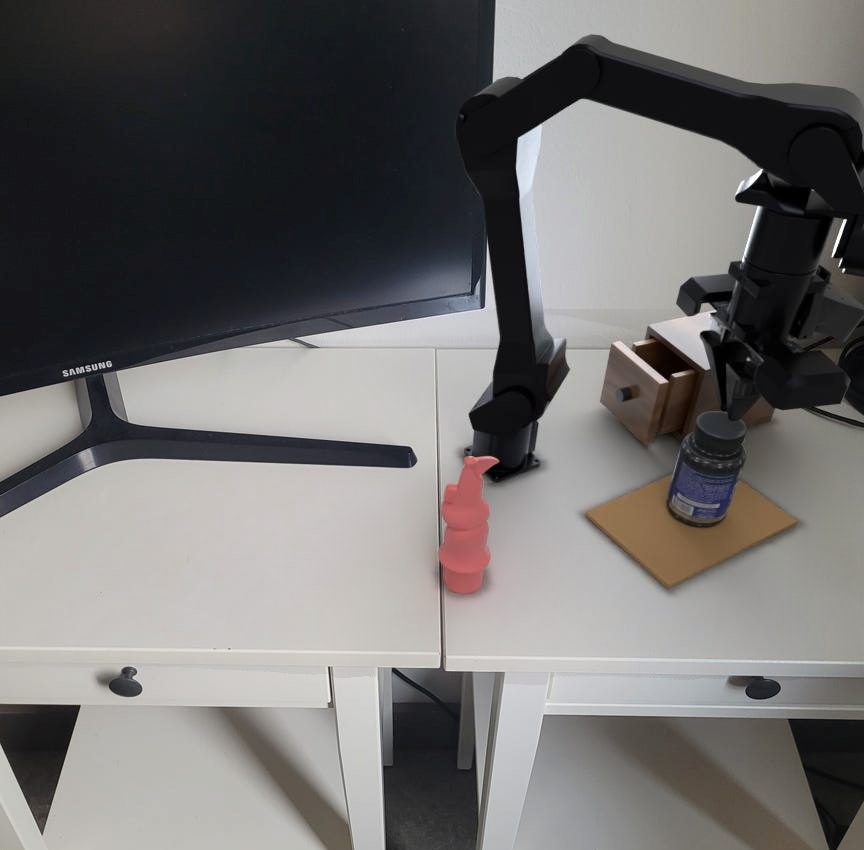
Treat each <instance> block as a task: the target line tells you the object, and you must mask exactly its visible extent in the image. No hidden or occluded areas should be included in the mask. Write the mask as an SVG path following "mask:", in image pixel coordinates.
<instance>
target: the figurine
mask: <svg viewBox="0 0 864 850" xmlns="http://www.w3.org/2000/svg"><path fill="white" fill-rule="evenodd" d="M462 462H463V467H462V470H461V473H460V475H459V479H458V482H457V483H453V482H451V483H448V484H447V485H446V486H445V489H444V493H443V500H442V502H441V503H440V504H441V505H440V515H441V518H442V520H443V521H444V523H445V524H446V525H445V528H444V534H443V541H442V543H441V544H440V546H439V548H438V550H437V556H438V560H439V562H440V564H441V565H442V582H443V584H444V586H445V587H446V588H447V589H448V590H449V591H451V592H453V593H456V594H459V595H460V594H461V595H468V594H472V593H475V592H476V591H478V590H479V589H481V587H482V585H483V582H484V574H485V569H486V568H487V567H488V565H490V562H491V551H490V548H489V547H488V545H487V542H488V537H489V533H490V526H489V522H488V521H489V518H490V515H491V508H490V505H489V503H488V501H487V500H486V498H485V497H484V496H483V490H484V485H485V483H484V477H483V476H482V475H483V474H485V473H484V472H485V471H486V470H488V469H489V468H490V467H492V466H493V465H495V464H497V463H499V460H498V459H496V458H494V457H491V456H482V457H477V458H475V457H473V456H465V457H464V458H463V461H462Z"/></svg>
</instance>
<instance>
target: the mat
mask: <svg viewBox="0 0 864 850" xmlns="http://www.w3.org/2000/svg"><path fill="white" fill-rule="evenodd" d="M672 476H673V473H672V474H670V475H668V476H665V477H662V478H661V479H658V480H656V481H653V482H651V483H649V484H647V485H644V486H642V487H640V488H637V489H635V490H633V491H631V492H628V493H626V494H624V495H622V496H621V495H620V496H619V497H616V498H614V499H612V500H610V501H607V502H605V503H603V504H601V505H599V506H596V507H594V508H592V509H589V510H587V511H585V513H584V516H585V517H586V518H587V519H589V520H590V522H591V523H592V524H594V525H595V526H596V527H597V528H599V529H600V530H601V531H602V532H603V533H604V534H605V535H606V536H608V538H610V540H612V541H613V542H614V543H616V544H617V545H618V546H619V547H620V548H621V549H622V550H623V551H624V552H626V553H627V554H628V555H629V556H630V557H631V558H632V559H634V561H636V563H638V564H639V565H640V566H641V567H642V568H643V569H644V570H646V571H647V572H648V573H649V574H650V575H651V576H652V577H654V579H656V580H657V581H658V582H659V583H660V584H662V586H664V587H665V588H666V589H668V590H669V589H671V588H673V587H675V586H677V585H679V584H681V583H683V582H685V581H687V580H689V579H691V578H693V577H695V576H697V575H699V574H701V573H702V572H704V571H706V570H708V569H710V568H713V567H714V566H717V565H718V564H720V563H723V562H724V561H726V560H729V559H730V558H733V557H734V556H737V555H738V554H740V553H742V552H744V551H747V550H748V549H751V548H753V547H754V546H756V545H758V544H760V543H762V542H764V541H766V540H768V539H770V538H772V537H774V536H775V535H778V534H780V533H782V532H784V531H785V530H788V529H789V528H792V527H793V526H795V525H797V523H798V520H797V518H794V517H793V516H792V515H791V514H789V513H787V512H786V511H785V510H783V509H782V508H781V507H779V506H777V505H776V504H775V503H774V502H772V501H770V500H769V499H767V498H766V497H765V496H763V495H762V494H761V493H759V492H757V491H756V490H755V489H753V488H752V487H751V486H750V485H748V484H746V483H745V482H744V481H743V480H740V479H739V480H738V483H737V486H736V489H735V492H734V495H733V497H732V500H731V503H730V506H729V509H728V512H727V516H726V517H725V519H724V520H723V521H722V522H721V523H719V524H717V525H715V526H712V527H695V526H691V525H688V524H685V523H683V522H681V521H679V520H678V519H677V518H675V517H674V516H673V515H672V514H671V513H670V511H669V509H668V507H667V504H666V498H667V494H668V491H669V487H670V483H671V480H672Z"/></svg>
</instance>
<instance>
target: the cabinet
mask: <svg viewBox="0 0 864 850" xmlns="http://www.w3.org/2000/svg"><path fill="white" fill-rule="evenodd" d="M712 312H716V310H715V309H714V310H709V311H705V312H699V313H698V314H696V315H695V316H689V317H688V316H687V315H686V316H682V317H678V318H673V319H669V320H663V321H661V322H660V321H659V322H655V323H651V324H647V326H646V331H645V335H644V340H649V339H653V338H656V339H657V340H659V341H660V342H661V343H662V344H664V345H665V346H666V347H667V348H669V349H670V350H671V351H673V352H674V353H675V354H676V355H678V356H679V357H680V358H681V359H683V360H684V361H685V362H686V363H688V364H689V365H690V366H692V367H693V368H694V369H695V370H697V371H698V372H699V376H698V380H697V383H696V387H695V390H694V394H693V397H692V401H691V404H690V408H689V411H688V415H687V418H686V422H685V425H684V428H683V429H679V430H676V431H672V432H671V434H672V435H674V436H675V437H676V438H677V439H678V440H679V441H680V442H681V443H682V442H683V440H684V438H685V437H686V436H687V435H688V434H690V433H692V432H694V426H695V422H696V419H697V418H698V416H699V415H701V414H702V413H705V412H708V411H721V410H720V406H719V402H718V398H717V394H716V389H715V385H714V381H713V377H712V373H711V369H710V365H709V362H708V358H707V355H706V351H705V348H704V344H703V341H702V340H701V339H700V332H701V331H704V330H709V327H710V323H711V319H710V318H709V314H710V313H712ZM775 411H776V408H773V407H772V406H771V405H770V404H769V403H768V402H767V401H766V400H765V399H764V398H763V397H762V396H761V397H760V398H759V400H758V401H757V402H756V403H755V404H754V405H753V406H752V407H751V408H750V410H749V411H748V412H747V413H746V414H745V415H744V416H743V417H742V418H741V420H742V421H743V422H744V423H745V424H746V427H747V428H749V427H752V426H755V425H759V424H764V423H767V422H770V421H772V419H773V416H774V413H775ZM721 412H722V411H721ZM726 413H727V412H726Z"/></svg>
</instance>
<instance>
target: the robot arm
mask: <svg viewBox="0 0 864 850" xmlns="http://www.w3.org/2000/svg"><path fill="white" fill-rule="evenodd" d="M580 100H588V101H591V102H595V103H597V104H600V105H604V106H607V107H610V108H613V109H617V110H620V111H623V112H626V113H628V114H632V115H635V116H639V117H642V118H645V119H649V120H651V121H654V122H658V123H661V124H664V125H668V126H671V127H674V128H677V129H681V130H683V131H686V132H689V133H693V134H696V135H698V136H702V137H705V138H709V139H712V140H714V141H715V140H716V141H717V142H720V143H723V144H725V145H727V146H729V147H730V148H732V149H734V150H736V151H737V152H738V153H740V154H741V155H742V156H743V157H745V158H746V159H747V160H748V161H750V162H751V163H752V164H753V165H754V166H756V167H757V168H759V169H760V170H759V171H757V172H756V173H755V174H753V175H751V176H749V177H748V178H746V179H743V180H742V181H741V182H740V184H739V186H738V189H737V191H736V193H735V195H734V201H735V203H738V204H743V205H748V206H749V205H750V206H756V207H757V209H756V212H755V215H754V218H753V222H752V226H751V229H750V232H749V236H748V240H747V243H746V246H745V250H744V253H743V257H742V260H734V261H732V260H731V261H729V266H728V269H727V273H719V274H718V273H717V274H706V275H696V276H690V277H689V278H688V279H687V280H686V281H684V282H683V283H682V284H681V285H680V286H679V290H678V294H677V298H676V301H675V305H676V306H677V307H678V308H679V309H680V310H681V311H682V312H683V313H684V315H686V317H687V316H688V317H689V316H695V315H696V314H700V313H701V308H702V305H703V304H709V305H710V306H711V308H713V309H714V310H716V312H712V313H710V314H709V318H710V319H711V323H710V327H709V330H704V331H701V332H700V339H701V340H702V341H703V344H704V348H705V351H706V355H707V358H708V362H709V365H710V369H711V373H712V377H713V381H714V385H715V389H716V394H717V398H718V402H719V406H720V410H721V411H722V412H727V413H728V419H729V420H730V421H737V420H740V419H741V418H742V417H743V416H744V415H745V414H746V413H747V412H748V411H749V410H750V408H751V407H752V406H753V405H754V404H755V403H756V402H757V401H758V400H759V398H760V397H761V396H762V397H763V398H764V399H765V400H766V401H767V402H768V403H769V404H770V405H771V406H772V407H773V408H775V410H780V411H790V410H799V409H807V408H808V409H809V408H816V407H817V408H818V407H826V406H834V405H841V404H842V402H843V400H844V398H845V395H846V393H847V391H848V388H849V386H850V384H851V381H852V379H851V378H850V377H849V375H848V374H847V373H846V371H844V370H843V369H842V368H841V366H839V365H838V364H837V363H836V362H834V360H832V359H831V358H830V357H829V356H827V354H825V353H824V352H823V351H822V350H821V349H816V350H807V351H806V350H804V349H803V348H802V346H800V344H798V343H797V342H795V341H794V340H791V339H796V340H797V341H807V340H812V338H813V336H814V333H818V334H821V335H824V336H829V337H831V338H835V340H836V341H837V342H839V343H840V342H841V343H845V342H846V341H847V340H848V338H849V337H850V336H851V334H852V333H853V332H854V331H855V329H856V328H857V326H858V325H859V324H860V323H861V321H862V320H863V319H864V304H862V303H861V302H860V301H859V300H857V299H856V298H855V297H853V296H852V295H850V294H849V293H848V292H847V291H845V290H844V289H842V288H840V287H838V286H837V285H835V283H833V282H831V279H832V272H831V271H830V270H829V269H828V268H826V267H825V266H824V265H822V264H821V260H822V257H823V255H824V252H825V248H826V247H827V243H828V240H829V237H830V235H831V232H832V229H833V226H834V224H835V221H836V219H839V220H840V219H841V220H843V221H842V223H841V226H840V228H839V232H838V235H837V238H836V240H835V244H834V247H833V250H832V254H831V259H838V260H839V259H840V261H839V264H838V267H837V268H838V269H842V274H843V275H844V274H845V275H849V276H856V277H860V278H864V105H863V103H862V100H861V99H860V98H859V97H858V96H857V95H856V93H854V92H852V91H850V90H848V89H847V88H844V87H839V86H830V85H821V84H820V85H819V84H810V83H801V82H800V83H799V82H783V83H782V82H779V83H759V82H751V81H750V82H749V81H746V80H742V79H739V78H735V77H732V76H728V75H724V74H721V73H718V72H715V71H711V70H708V69H704V68H701V67H698V66H695V65H691V64H688V63H684V62H681V61H678V60H675V59H672V58H671V59H670V58H667V57H663V56H661V55H656V54H654V53H650V52H647V51H643V50H640V49H637V48H633V47H630V46H627V45H622V44H620V43H616V42H614V41H611V40H610V39H608V38H607V37H605V36H603V35H601V34H592V33H590V34H587V35H585V36H582V37H580V38H579V39H578V40H576V42H574V43H573V44H571V45H570V46H569V47H568V48H567V47H566V49H565V50H563V51H562V53H561V54H559V55H558V56H556V57H555V58H553V59H550V61H548V62H546V63H545V64H543V65H542V66H540V67H538V68H537V69H535V70H533V71H532V72H531V73H529V74H528V75H526V76H524V77H523V78H521V77H519V76H505V77H502V78H498V79H496V80H495V81H493V82H492V83H491V84H489V85H488V86H486V87H485V88H483V89H482V90H480V91H479V92H477V93H476V94H475V95H473V96H472V97H470V98H469V99H468V100H466V101H465V102H464V103H463V104H462V107H461V108H460V109H459V111H458V113H457V114H456V116H455V120H454V131H453V133H454V138H455V142H456V146H457V149H458V152H459V156H460V158H461V161H462V165H463V169H464V171H465V174H466V176H467V177H468V179H469V180H470V182H471V183H472V185H473V187H474V189H475V190H476V191H477V193H478V195H479V197H480V199H481V202H482V209H483V216H484V217H483V218H484V224H485V225H484V226H485V233H486V240H487V249H488V255H489V257H488V258H489V264H490V274H491V280H492V281H491V282H492V289H493V295H494V304H495V305H494V306H495V311H496V312H495V313H496V319H497V327H498V335H499V340H498V341H499V342H498V346H497V350H496V351H497V352H496V356H495V361H494V364H493V370H492V377H491V378H492V379H491V382H490V383H489V384H488V386H487V387H486V389H485V390H484V391H483V392H482V394H481V395H480V397H479V398H478V400H477V401H476V402H475V404H474V405H473V407H472V408H471V409H470V411H469V412H468V418H469V421H470V425H471V429H472V430H473V434H472V435H473V437H472V445H469V446H466V447H464V449H463V454H464V455H465V457H467V456H473V457H475V458H477V457H482V456H491V457H494V458H496V459H498V460H499V463H497V464H495V465H493V466H492V467H490V468H489V469H488V470H486V471H485V472H484V473H483V474H485V475H486V477H487V478H489V479H490V480H491V481H492V482H493V483H500V482H503V481H505V480H507V479H509V478H513V477H515V476H518V475H520V474H522V473H525V472H527V471H530V470H533V469H535V468H539V467H540V466H541V463H542V460H541V459H540V458H539V457H538V456H537V455H536V454H535V453H534V452H535V450H536V445H537V440H538V439H537V437H538V433H539V425H540V423H539V420H540V419H541V418H542V417H543V416H544V414H545V413H546V412H547V409H548V407H550V404H551V403H552V401H553V400H554V398H555V396H556V394H557V392H559V390H560V388H561V386H562V384H563V382H564V381H565V379H566V377H567V376H568V375H569V372H570V371H571V368H570V366H569V363H568V361H567V357H566V356H567V355H566V352H567V342H568V341H567V338H566V337H560V338H553V336H552V335H551V333H550V332H549V330H548V328H547V326H546V323H545V314H544V302H543V291H542V282H541V281H542V280H541V271H540V260H539V249H538V238H537V236H538V235H537V227H536V226H537V225H536V216H535V206H534V205H535V204H534V196H533V183H534V182H533V181H534V177H535V172H536V168H537V164H538V158H539V154H540V149H541V141H542V128H543V123H546V122H547V121H548V120H550V119H551V118H553V117H555V116H556V115H558V114H559V113H561V112H562V111H564V110H565V109H567V108H569V107H570V106H571V105H573V104H575V103H577V102H579V101H580Z"/></svg>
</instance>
